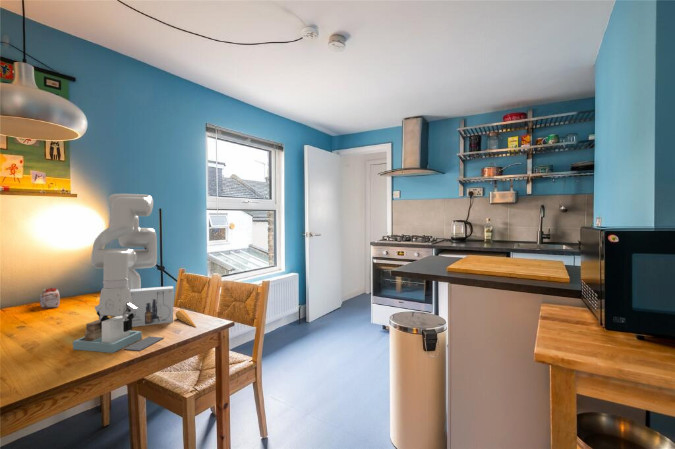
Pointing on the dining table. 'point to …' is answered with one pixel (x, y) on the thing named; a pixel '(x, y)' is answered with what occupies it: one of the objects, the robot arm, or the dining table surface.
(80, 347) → the tray
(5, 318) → the dining table surface
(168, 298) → the skincare box
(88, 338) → the offcut middle
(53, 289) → the food item
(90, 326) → the offcut top
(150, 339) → the mat
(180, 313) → the carrot
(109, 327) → the white upright slab
